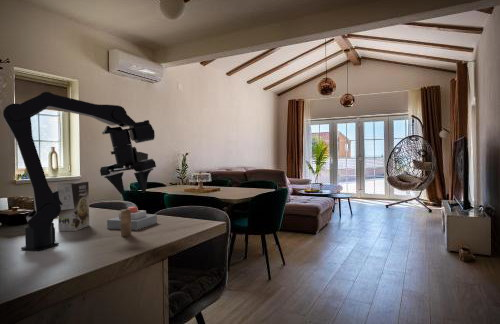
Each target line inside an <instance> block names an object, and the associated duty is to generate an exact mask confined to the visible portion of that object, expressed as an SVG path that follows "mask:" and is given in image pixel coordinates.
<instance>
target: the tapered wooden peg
mask: <svg viewBox="0 0 500 324" xmlns="http://www.w3.org/2000/svg"><path fill="white" fill-rule="evenodd" d="M119 213H121V229H120V236H121V237H122V236H127V237H131V236H132V230H131V210H130V209H128V208H126V209H120V212H119ZM130 235H131V236H130Z"/></svg>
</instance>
